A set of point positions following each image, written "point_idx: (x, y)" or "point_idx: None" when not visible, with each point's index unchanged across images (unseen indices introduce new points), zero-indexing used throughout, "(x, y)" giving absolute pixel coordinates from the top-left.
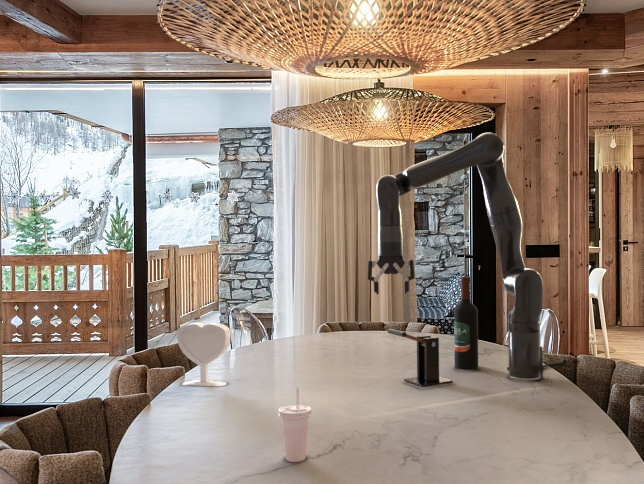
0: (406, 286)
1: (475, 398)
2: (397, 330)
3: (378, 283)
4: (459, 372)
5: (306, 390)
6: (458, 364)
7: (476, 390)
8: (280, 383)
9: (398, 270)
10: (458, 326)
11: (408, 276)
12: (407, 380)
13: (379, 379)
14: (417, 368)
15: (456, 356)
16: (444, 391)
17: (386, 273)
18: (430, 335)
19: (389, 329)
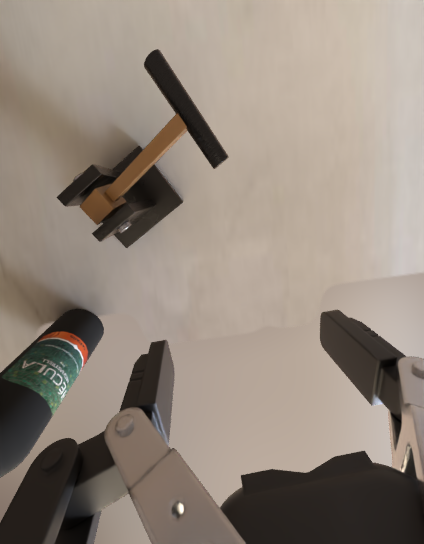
0: (144, 372)
1: (9, 72)
2: (185, 103)
3: (371, 354)
4: (89, 303)
5: (370, 113)
6: (88, 320)
7: (24, 153)
8: (418, 170)
9: (213, 530)
10: (38, 378)
11: (104, 477)
12: (174, 191)
13: (233, 227)
14: (151, 205)
15: (86, 332)
16: (90, 135)
17: (365, 463)
18: (92, 233)
19: (221, 149)
